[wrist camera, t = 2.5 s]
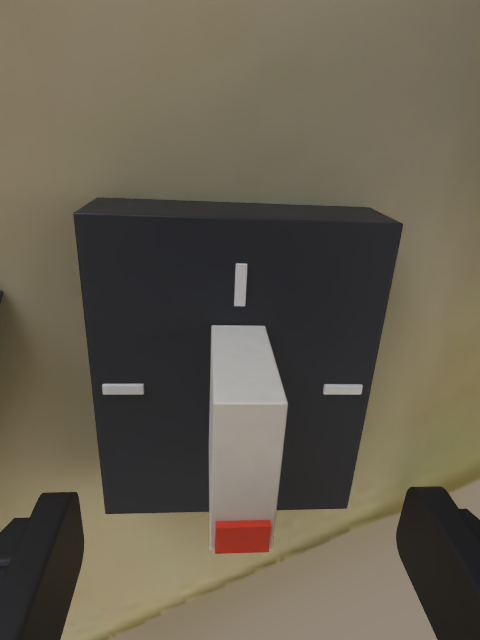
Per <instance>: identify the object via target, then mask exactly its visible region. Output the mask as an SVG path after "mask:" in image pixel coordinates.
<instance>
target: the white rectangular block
mask: <svg viewBox="0 0 480 640" xmlns="http://www.w3.org/2000/svg"><path fill="white" fill-rule="evenodd" d="M287 409H288V402H287V399H286V395H285V392H284V389H283V385H282V382H281V378H280V375H279V372H278V368H277V365H276V361H275V358H274V355H273V351H272V348H271V344H270V341H269V338H268V334H267V331H266V327H265V326H244V325H212V326H211V366H210V411H209V549H210V550H211V551H215V553H216V554H220V553H253V552H269V549H272V546H273V537H274V528H275V519H276V510H277V500H278V491H279V482H280V473H281V464H282V455H283V445H284V436H285V427H286V418H287Z"/></svg>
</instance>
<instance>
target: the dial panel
mask: <svg viewBox="0 0 480 640" xmlns="http://www.w3.org/2000/svg"><path fill="white" fill-rule="evenodd" d="M74 223H75V233H76V242H77V251H78V261H79V270H80V279H81V289H82V298H83V308H84V317H85V326H86V336H87V345H88V354H89V364H90V373H91V383H92V392H93V401H94V411H95V420H96V429H97V439H98V448H99V458H100V467H101V476H102V486H103V495H104V504H105V513H106V514H124V513H169V512H209V411H210V366H211V326H212V325H244V326H265V327H266V331H267V334H268V338H269V341H270V344H271V348H272V351H273V355H274V358H275V361H276V365H277V368H278V372H279V375H280V378H281V382H282V385H283V389H284V392H285V395H286V399H287V402H288V409H287V418H286V427H285V436H284V445H283V455H282V464H281V473H280V482H279V491H278V500H277V510H302V509H346V508H347V506H348V501H349V496H350V491H351V486H352V480H353V475H354V470H355V465H356V460H357V455H358V450H359V445H360V440H361V435H362V430H363V425H364V420H365V415H366V410H367V405H368V400H369V394H370V389H371V384H372V379H373V374H374V369H375V364H376V359H377V354H378V349H379V344H380V339H381V334H382V329H383V324H384V319H385V313H386V308H387V303H388V298H389V293H390V288H391V283H392V278H393V273H394V268H395V263H396V258H397V253H398V248H399V243H400V238H401V232H402V227H403V224H402V223H400V222H398V221H396V220H394V219H392V218H390V217H388V216H386V215H384V214H382V213H380V212H378V211H375V210H373V209H371V208H366V207H339V206H312V205H284V204H257V203H230V202H203V201H176V200H149V199H122V198H96V199H95V200H93V201H91V202H90V203H88V204H87V205H85V206H84V207H82V208H81V209H79V210H77V211H76V212H74Z"/></svg>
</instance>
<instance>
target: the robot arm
mask: <svg viewBox="0 0 480 640" xmlns="http://www.w3.org/2000/svg"><path fill="white" fill-rule="evenodd" d="M396 541H397V548H398V552H399V555H400V558H401V560H402V562H403V565H404V567H405V569H406V571H407V574H408V576H409V578H410V580H411V582H412V585H413V586H414V589H415V591H416V593H417V595H418V598H419V600H420V602H421V604H422V606H423V609H424V611H425V613H426V615H427V617H428V620H429V622H430V624H431V626H432V628H433V630H434V633H435V635H436V637H437V639H438V640H480V520H479V519H478V518H477V517H476V516H474V515H473V514H472V513H471V512H470V511H469V510H467V509H458V507H457V506H456V504H455V503H454V501H453V500H452V499H451V497H450V495H449V494H448V492H447V491H446V490H445V489H444V488H443V487H410V488H409V489H408V491H407V493H406V497H405V501H404V505H403V508H402V512H401V516H400V520H399V524H398V527H397V534H396ZM83 552H84V534H83V527H82V519H81V512H80V504H79V497H78V494H77V493H76V492H56V493H42V494H41V495H40V497H39V499H38V501H37V503H36V505H35V507H34V509H33V511H32V514H31V516H30V518H14V519H13V520H12V521H11V522H10V523H9V524H8V525H7V526H6V527H5V528H4V529H3V530H2V531H1V532H0V640H60V639H61V635H62V632H63V628H64V625H65V621H66V618H67V614H68V611H69V607H70V604H71V600H72V597H73V593H74V590H75V586H76V583H77V579H78V576H79V572H80V569H81V565H82V560H83Z"/></svg>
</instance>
